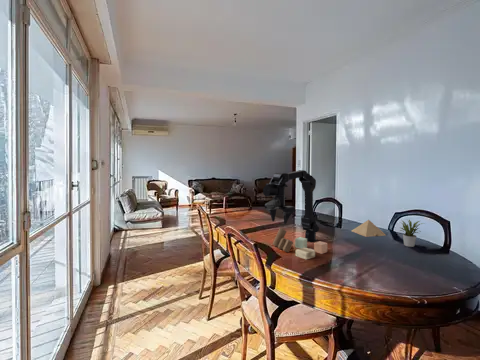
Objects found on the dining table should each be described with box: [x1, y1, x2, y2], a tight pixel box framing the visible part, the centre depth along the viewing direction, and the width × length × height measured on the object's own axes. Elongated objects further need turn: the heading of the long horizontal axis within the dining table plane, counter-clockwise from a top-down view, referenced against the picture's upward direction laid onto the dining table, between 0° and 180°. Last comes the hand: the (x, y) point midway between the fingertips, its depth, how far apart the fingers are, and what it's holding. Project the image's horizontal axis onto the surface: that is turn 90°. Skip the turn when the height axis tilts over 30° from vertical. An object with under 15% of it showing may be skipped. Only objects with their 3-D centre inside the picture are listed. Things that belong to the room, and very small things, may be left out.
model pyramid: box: [351, 219, 387, 238], centre depth 199 cm, size 17×17×10 cm
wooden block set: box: [272, 227, 294, 253], centre depth 163 cm, size 18×9×10 cm, turn 4°
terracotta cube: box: [313, 241, 328, 255], centre depth 156 cm, size 5×5×5 cm
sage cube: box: [294, 236, 308, 249], centre depth 165 cm, size 5×5×5 cm
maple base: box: [295, 247, 316, 260], centre depth 148 cm, size 7×7×4 cm
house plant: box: [399, 219, 426, 248], centre depth 169 cm, size 14×14×16 cm
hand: (279, 222), depth 161 cm, fingers open, 9 cm apart
